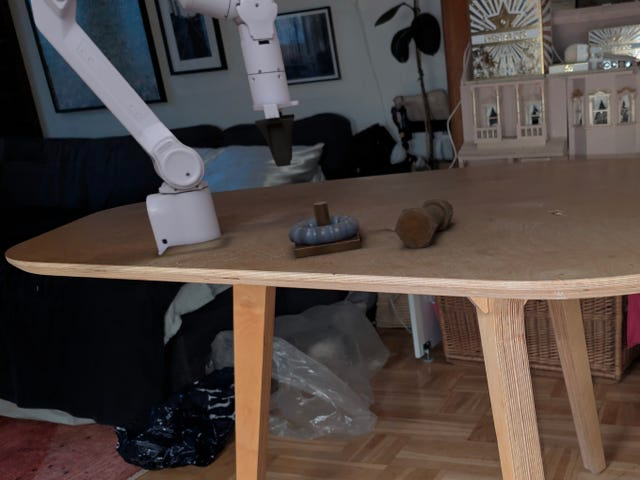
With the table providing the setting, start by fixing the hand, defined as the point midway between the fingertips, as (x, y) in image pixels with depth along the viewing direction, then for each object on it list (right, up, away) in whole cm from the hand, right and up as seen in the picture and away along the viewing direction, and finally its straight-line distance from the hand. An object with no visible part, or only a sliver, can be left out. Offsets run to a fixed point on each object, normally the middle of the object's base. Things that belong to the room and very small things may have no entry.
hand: (284, 163), depth 114 cm
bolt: (+25, -14, -13) cm, 31 cm away
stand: (+10, -16, -13) cm, 22 cm away
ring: (+9, -13, -13) cm, 21 cm away
